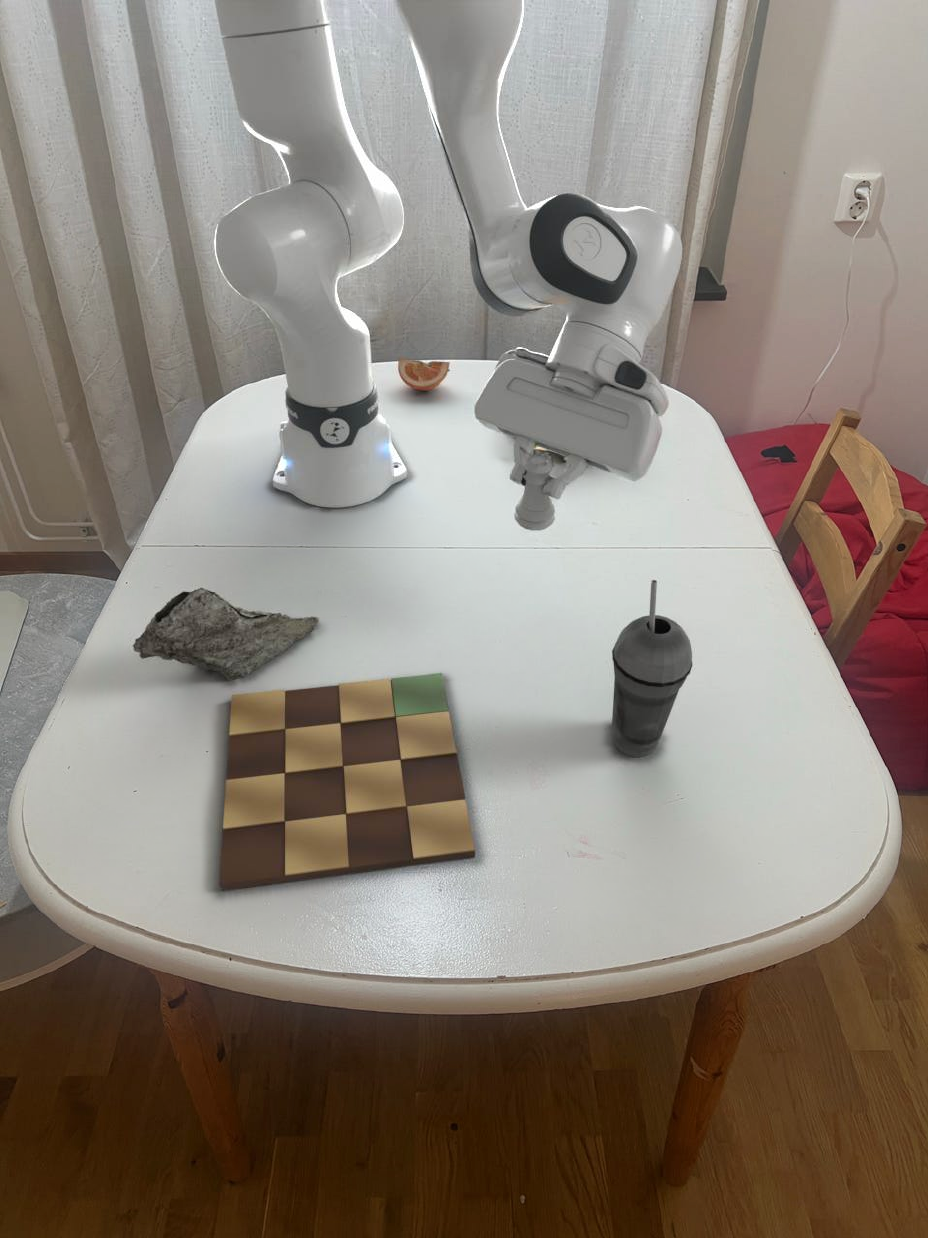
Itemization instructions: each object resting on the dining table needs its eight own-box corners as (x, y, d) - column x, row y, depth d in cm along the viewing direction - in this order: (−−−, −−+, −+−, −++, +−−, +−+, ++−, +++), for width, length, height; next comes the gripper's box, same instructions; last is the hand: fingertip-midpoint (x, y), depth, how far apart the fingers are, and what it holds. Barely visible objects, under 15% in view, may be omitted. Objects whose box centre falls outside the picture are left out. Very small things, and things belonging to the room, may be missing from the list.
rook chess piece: (552, 534, 91) (558, 470, 86) (511, 529, 92) (514, 465, 87) (557, 511, 95) (563, 447, 89) (517, 506, 95) (520, 443, 90)
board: (233, 702, 89) (231, 694, 88) (442, 680, 91) (442, 672, 91) (221, 891, 73) (218, 883, 72) (475, 857, 75) (475, 850, 74)
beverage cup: (654, 780, 82) (692, 626, 68) (585, 748, 85) (609, 594, 71) (682, 730, 86) (723, 577, 73) (616, 702, 89) (644, 549, 76)
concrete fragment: (326, 633, 97) (316, 556, 90) (171, 717, 87) (145, 639, 80) (296, 605, 100) (284, 529, 93) (143, 683, 91) (116, 606, 83)
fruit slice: (451, 380, 144) (451, 352, 140) (447, 399, 139) (447, 371, 135) (402, 378, 144) (401, 350, 141) (396, 397, 139) (395, 368, 136)
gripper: (496, 330, 91) (442, 448, 92) (672, 383, 82) (610, 514, 83) (517, 355, 97) (466, 466, 97) (683, 407, 88) (625, 530, 88)
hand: (533, 489), depth 90 cm, fingers closed on rook chess piece, 3 cm apart
